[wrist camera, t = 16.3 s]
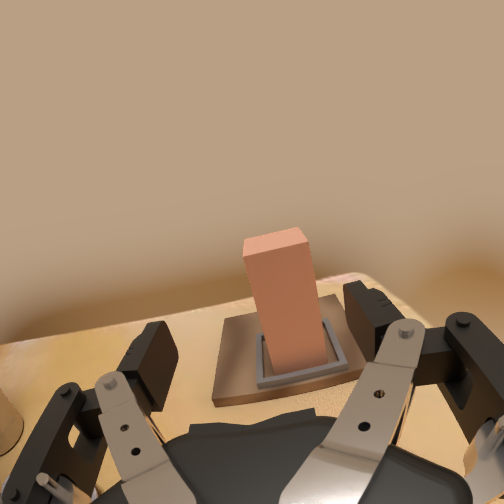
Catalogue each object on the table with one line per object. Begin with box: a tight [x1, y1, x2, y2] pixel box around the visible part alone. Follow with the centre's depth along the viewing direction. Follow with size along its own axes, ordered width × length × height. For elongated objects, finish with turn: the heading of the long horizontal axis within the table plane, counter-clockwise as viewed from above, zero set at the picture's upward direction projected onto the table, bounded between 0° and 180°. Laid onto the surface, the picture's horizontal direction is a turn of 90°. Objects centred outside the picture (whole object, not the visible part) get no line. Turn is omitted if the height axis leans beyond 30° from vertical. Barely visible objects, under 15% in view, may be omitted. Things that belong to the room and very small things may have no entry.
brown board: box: [212, 294, 367, 407], centre depth 30 cm, size 15×15×1 cm
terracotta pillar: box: [243, 227, 328, 375], centre depth 26 cm, size 5×5×12 cm
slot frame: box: [256, 317, 348, 389], centre depth 27 cm, size 8×8×1 cm
